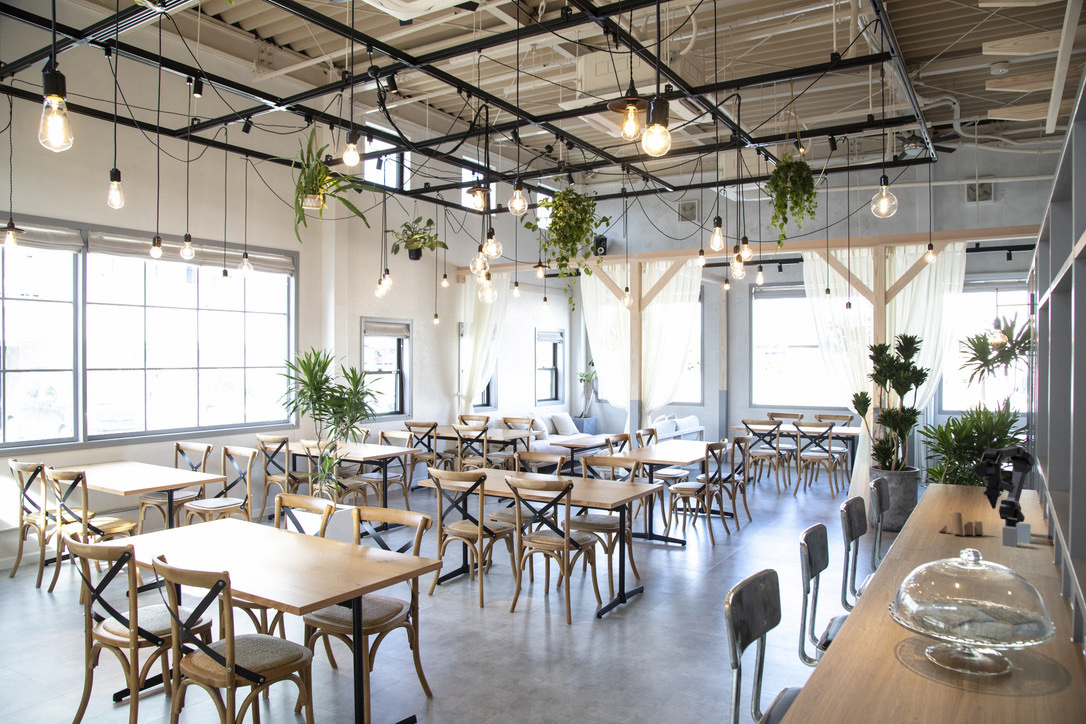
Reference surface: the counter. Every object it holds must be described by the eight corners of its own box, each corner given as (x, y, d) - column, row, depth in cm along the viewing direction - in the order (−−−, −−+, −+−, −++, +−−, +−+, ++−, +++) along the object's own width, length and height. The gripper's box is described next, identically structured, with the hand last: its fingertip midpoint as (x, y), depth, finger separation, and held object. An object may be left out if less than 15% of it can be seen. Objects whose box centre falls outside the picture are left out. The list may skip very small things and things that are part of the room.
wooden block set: (980, 540, 342) (978, 518, 346) (986, 536, 334) (984, 514, 338) (938, 536, 347) (936, 514, 351) (943, 532, 339) (941, 510, 343)
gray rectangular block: (1003, 543, 325) (1003, 525, 325) (1017, 545, 322) (1017, 527, 322) (1002, 545, 321) (1002, 527, 321) (1016, 547, 318) (1016, 529, 318)
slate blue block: (1017, 539, 332) (1017, 522, 332) (1030, 541, 329) (1030, 524, 329) (1016, 541, 328) (1016, 524, 329) (1029, 543, 325) (1029, 525, 325)
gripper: (1011, 479, 328) (1011, 513, 327) (1016, 475, 342) (1016, 508, 342) (983, 477, 334) (983, 510, 334) (988, 472, 349) (988, 505, 349)
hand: (993, 508), depth 340 cm, fingers closed
